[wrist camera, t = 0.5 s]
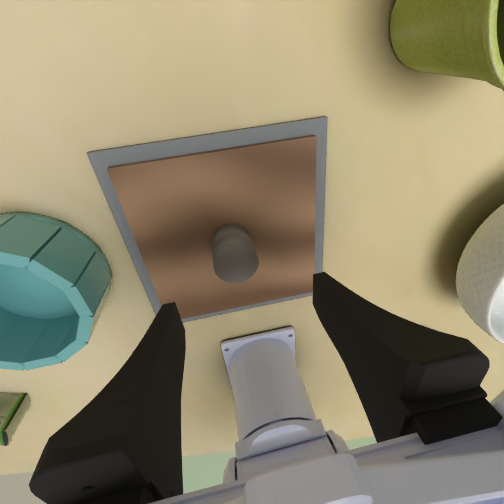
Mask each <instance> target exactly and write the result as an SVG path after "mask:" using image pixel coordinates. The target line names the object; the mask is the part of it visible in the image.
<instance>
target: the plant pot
mask: <svg viewBox="0 0 504 504" xmlns="http://www.w3.org/2000/svg"><path fill="white" fill-rule="evenodd" d="M390 35H391V41H392V46H393V49H394V52H395V54H396V56H397V57H398V59H399V60H400V61H401V62H402V63H403V64H404V65H405V66H407V67H409V68H411V69H414V70H417V71H421V72H428V73H435V74H443V75H450V76H457V77H464V78H471V79H477V80H483V81H487V82H488V83H490V84H492V85H494V86H495V87H498V88H501V89H502V90H503V91H504V0H396V2H395V5H394V7H393V10H392V13H391V18H390Z"/></svg>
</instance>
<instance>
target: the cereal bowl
mask: <svg viewBox="0 0 504 504" xmlns="http://www.w3.org/2000/svg"><path fill="white" fill-rule="evenodd" d="M456 287H457V288H456V290H457V294H458V297H459V301H460V303H461V305H462V307H463V308H464V310H465V312H466V313H467V314H468V315H469V317H470V318H471V319H472V320H473V321H474V322H475V323H476V324H477V325H478V326H479V327H480V328H482V329H483V330H484V331H485V332H486V333H487V334H488V335H490V336H491V337H493V338H494V339H495V340H497V341H499V342H501V343H503V344H504V204H502V205H501V206H500V207H499V208H498V209H496V210H495V211H494V212H493V213H492V214H491V215H490V216H489V217H488V218H487V219H486V220H485V221H484V222H483V223H482V224H481V225H480V226H479V228H478V229H477V230H476V232H475V233H474V234H473V236H472V237H471V239H470V240H469V242H468V243H467V245H466V247H465V249H464V250H463V253H462V256H461V257H460V260H459V263H458V269H457V271H456Z"/></svg>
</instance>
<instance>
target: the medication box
mask: <svg viewBox="0 0 504 504" xmlns="http://www.w3.org/2000/svg"><path fill="white" fill-rule="evenodd" d="M29 407H30V397H29V394H28V393H0V445H4V446H7V445H9V443H10V442H11V441H12V437H13V435H14V433H15V431H16V430H17V428H18V426H19V424H20V422H21V421H22V419H23V417H24V415H25V414H26V412H27V411H28V409H29Z"/></svg>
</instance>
